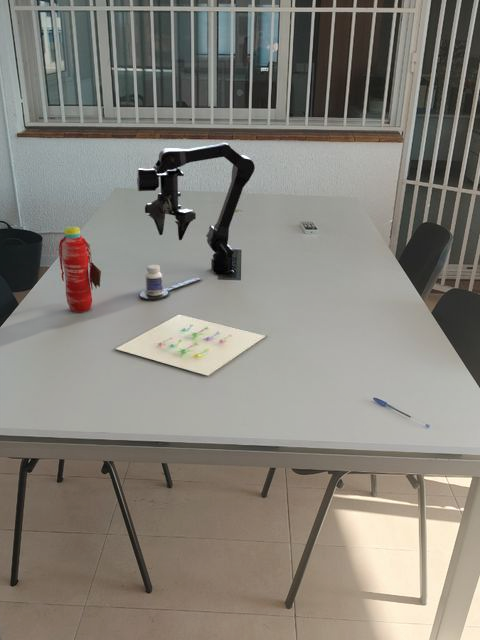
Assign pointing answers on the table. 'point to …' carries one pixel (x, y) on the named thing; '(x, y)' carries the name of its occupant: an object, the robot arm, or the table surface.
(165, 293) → the spoon
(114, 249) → the table surface
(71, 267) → the water bottle
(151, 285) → the pill bottle
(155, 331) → the printed paper
